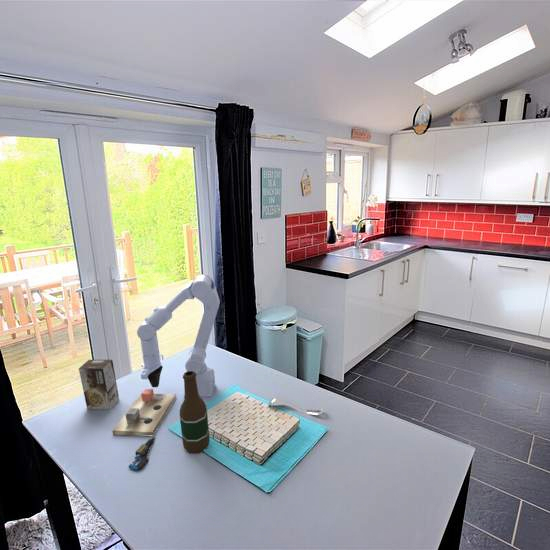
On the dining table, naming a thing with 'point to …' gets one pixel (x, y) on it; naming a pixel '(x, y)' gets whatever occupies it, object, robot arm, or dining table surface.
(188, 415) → the beer bottle
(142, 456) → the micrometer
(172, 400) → the beige slider panel
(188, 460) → the dining table surface
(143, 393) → the block
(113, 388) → the coffee box
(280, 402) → the stirrer
